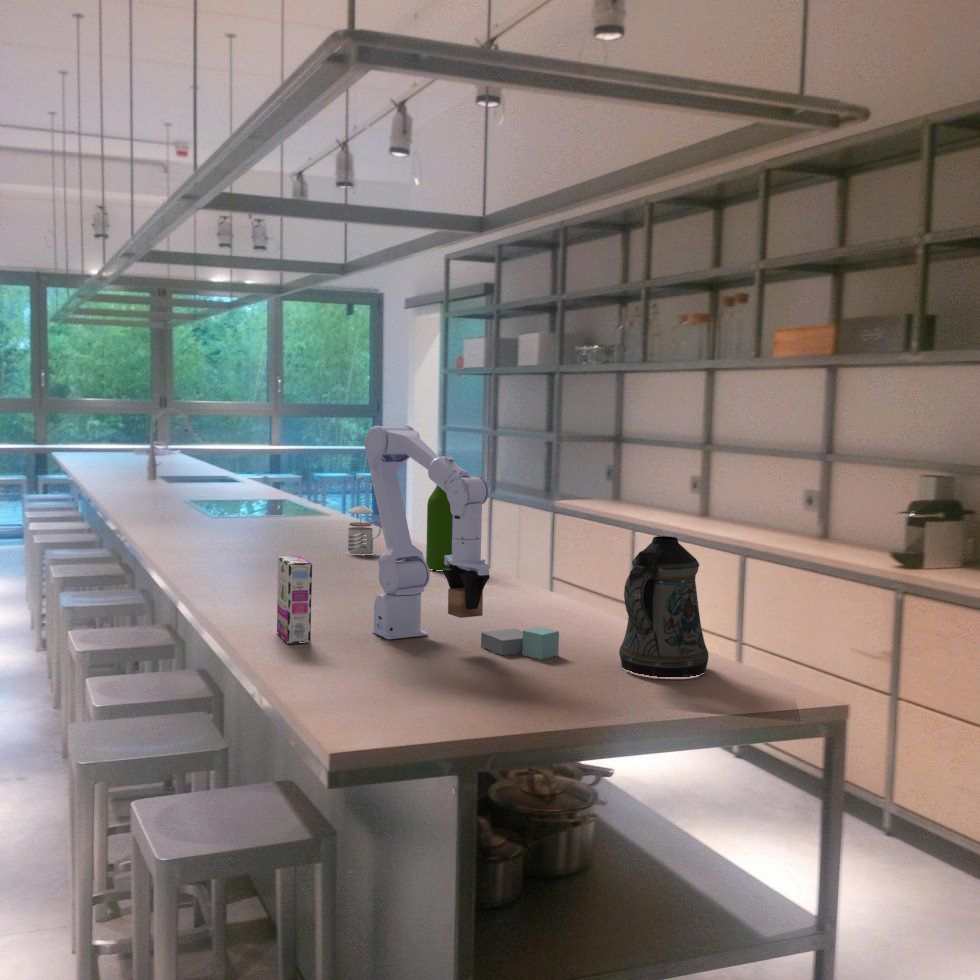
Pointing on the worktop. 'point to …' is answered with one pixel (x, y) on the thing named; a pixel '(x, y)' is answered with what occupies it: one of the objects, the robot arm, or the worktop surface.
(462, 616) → the walnut cube
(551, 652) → the teal cube
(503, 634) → the base block
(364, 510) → the french press
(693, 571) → the beer stein
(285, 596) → the candy bar box
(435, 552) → the wine bottle
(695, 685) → the worktop surface
